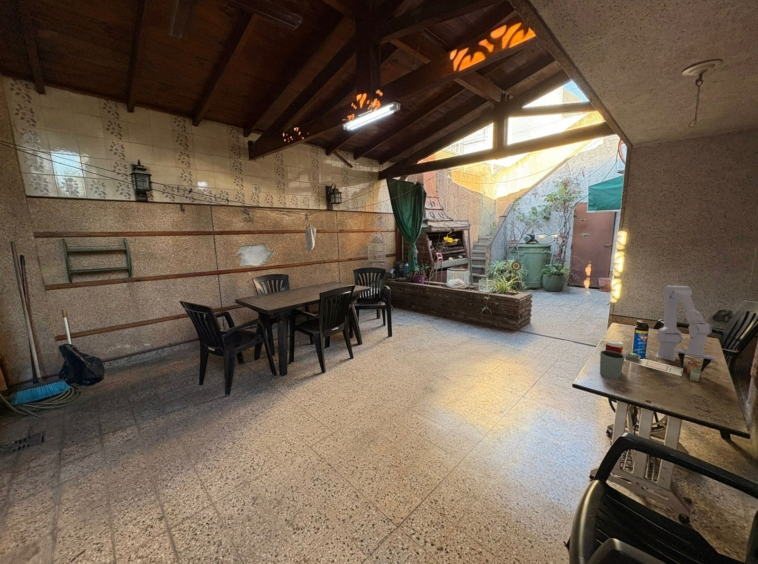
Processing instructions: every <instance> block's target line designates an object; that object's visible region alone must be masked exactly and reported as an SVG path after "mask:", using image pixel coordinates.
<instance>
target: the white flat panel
mask: <svg viewBox="0 0 758 564" xmlns="http://www.w3.org/2000/svg"><path fill="white" fill-rule="evenodd" d="M624 362H627V363H631V364H634V365H639V366H641V367H642V366H643V367H646V368H650V369H653V370H657V371H662V372H665V373H669V374H672V375H677V376H679V377H680V378H681V377H682V376H683V371H684V367H683V368H682V367H679V366H675V365H671V364H667V363H663V362H659V361H655V360H650V359H646V358H643V359H640V361H639V363H637V362H634V361H630V360H626V359H624Z"/></svg>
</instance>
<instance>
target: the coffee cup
mask: <svg viewBox="0 0 758 564" xmlns="http://www.w3.org/2000/svg"><path fill="white" fill-rule="evenodd" d="M624 347H625V345H624V343H623V342H622V341H620V340H618V339H617V340H616V339H606V340H605V350H606V351H614V352H618V353H620V354H622V353H623V349H624ZM605 350H604V351H605ZM622 355H623V354H622Z"/></svg>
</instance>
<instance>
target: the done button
mask: <svg viewBox="0 0 758 564" xmlns="http://www.w3.org/2000/svg"><path fill="white" fill-rule="evenodd" d="M628 353H629V356H631V357H636V358H637V355H638V354H637V353H634V352H628Z"/></svg>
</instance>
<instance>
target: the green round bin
mask: <svg viewBox="0 0 758 564" xmlns="http://www.w3.org/2000/svg"><path fill="white" fill-rule="evenodd" d="M599 356H600V360H599V363H600V365H599V374H600V375H601V376H602V377H604V378H607V379H610V380H620V378H621V376H622V370H623V366H624V362H625V361H624V359H625V356H626V355H624V354H620V353H618V352H614V351H606V350H600V353H599Z"/></svg>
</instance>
